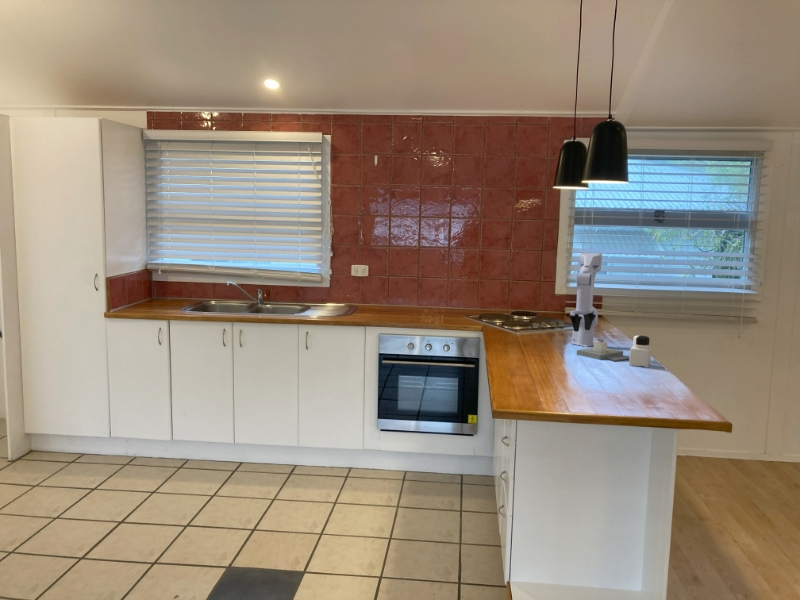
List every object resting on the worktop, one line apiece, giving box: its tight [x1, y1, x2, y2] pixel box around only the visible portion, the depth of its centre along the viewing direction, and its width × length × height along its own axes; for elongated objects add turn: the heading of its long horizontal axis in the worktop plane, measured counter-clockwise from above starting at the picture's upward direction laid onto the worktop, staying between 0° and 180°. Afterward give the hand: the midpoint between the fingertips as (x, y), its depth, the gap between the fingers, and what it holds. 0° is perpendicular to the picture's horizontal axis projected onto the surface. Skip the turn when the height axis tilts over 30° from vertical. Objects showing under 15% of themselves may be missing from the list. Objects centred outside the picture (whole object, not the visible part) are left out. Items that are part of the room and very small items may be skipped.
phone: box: [605, 355, 630, 363], centre depth 256 cm, size 5×9×1 cm, turn 117°
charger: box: [592, 338, 608, 353], centre depth 263 cm, size 4×4×7 cm
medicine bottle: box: [628, 335, 652, 368], centre depth 246 cm, size 7×7×12 cm
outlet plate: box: [576, 347, 624, 361], centre depth 264 cm, size 12×16×2 cm
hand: (581, 330), depth 268 cm, fingers open, 7 cm apart
